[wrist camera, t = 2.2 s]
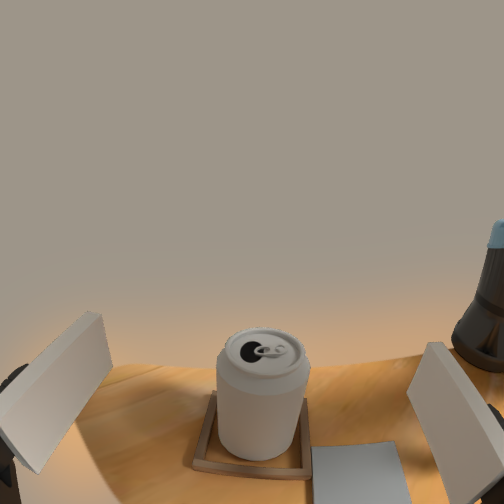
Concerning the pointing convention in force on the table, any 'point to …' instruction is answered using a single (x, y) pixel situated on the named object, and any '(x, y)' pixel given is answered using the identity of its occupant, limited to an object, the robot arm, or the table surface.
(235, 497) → the table surface
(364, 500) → the coaster
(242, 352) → the can
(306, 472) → the brown square frame
